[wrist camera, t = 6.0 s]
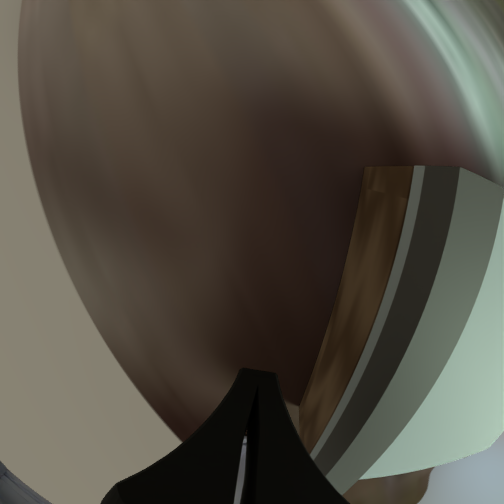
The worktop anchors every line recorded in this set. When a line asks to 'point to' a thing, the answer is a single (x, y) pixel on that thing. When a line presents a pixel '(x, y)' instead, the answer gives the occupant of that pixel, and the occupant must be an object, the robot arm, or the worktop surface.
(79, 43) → the worktop surface
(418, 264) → the lid
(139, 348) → the worktop surface
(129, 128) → the worktop surface
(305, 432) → the crate
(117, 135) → the worktop surface
